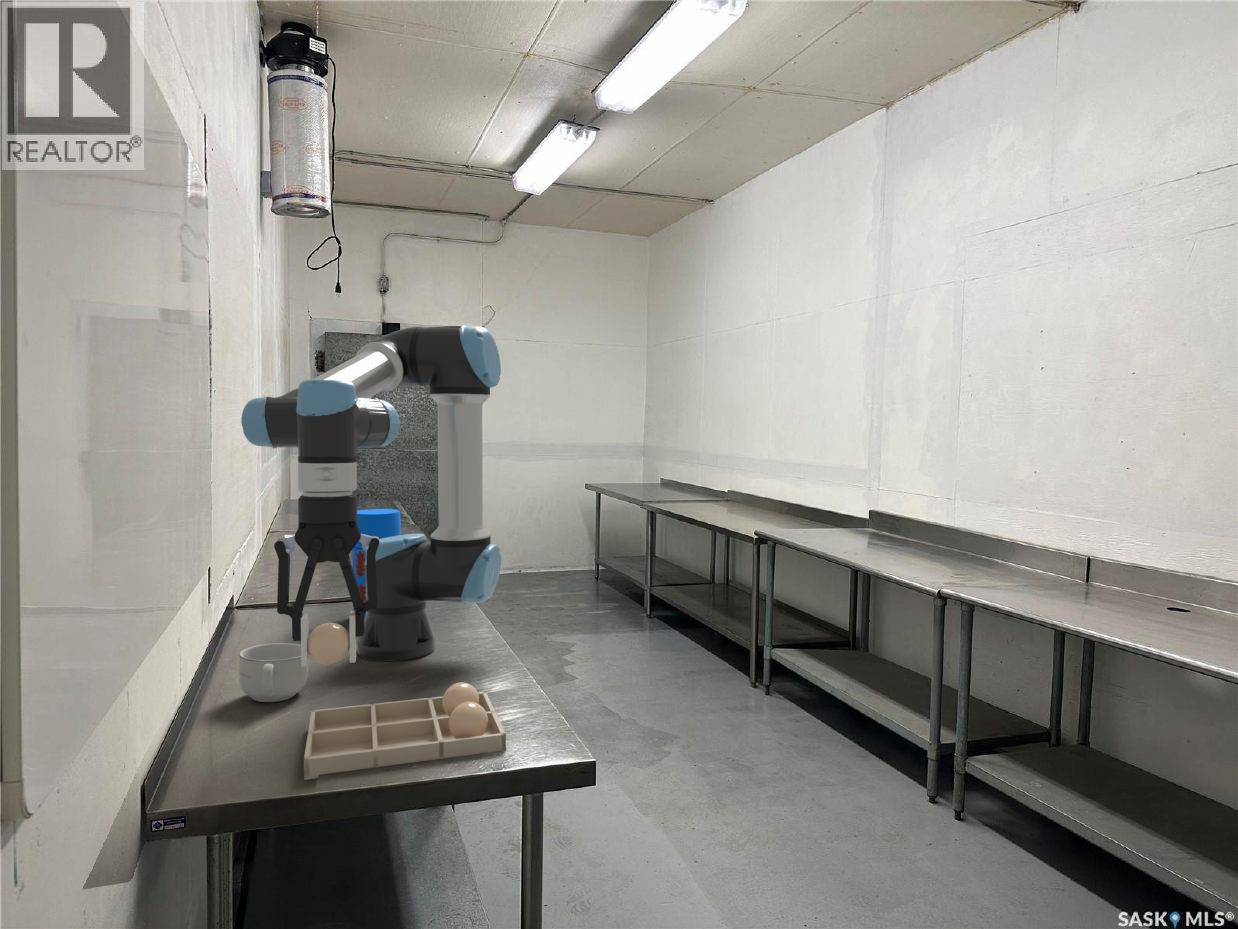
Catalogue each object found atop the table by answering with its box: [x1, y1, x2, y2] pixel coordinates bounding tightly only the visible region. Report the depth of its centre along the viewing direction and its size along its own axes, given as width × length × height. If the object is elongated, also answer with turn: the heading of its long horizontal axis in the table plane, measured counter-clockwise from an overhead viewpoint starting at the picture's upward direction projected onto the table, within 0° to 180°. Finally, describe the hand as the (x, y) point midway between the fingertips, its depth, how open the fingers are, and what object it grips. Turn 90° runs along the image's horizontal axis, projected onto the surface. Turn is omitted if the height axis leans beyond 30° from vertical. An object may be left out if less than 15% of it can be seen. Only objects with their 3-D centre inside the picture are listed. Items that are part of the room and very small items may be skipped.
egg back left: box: [442, 681, 479, 716], centre depth 120 cm, size 6×6×6 cm
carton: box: [303, 691, 507, 781], centre depth 113 cm, size 18×26×3 cm
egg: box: [307, 622, 350, 665], centre depth 107 cm, size 6×6×6 cm
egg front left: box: [449, 702, 488, 739], centre depth 112 cm, size 6×6×6 cm
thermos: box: [351, 508, 402, 620], centre depth 181 cm, size 11×11×25 cm
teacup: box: [238, 642, 309, 703], centre depth 129 cm, size 14×11×8 cm
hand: (329, 661), depth 107 cm, fingers closed on egg, 5 cm apart
